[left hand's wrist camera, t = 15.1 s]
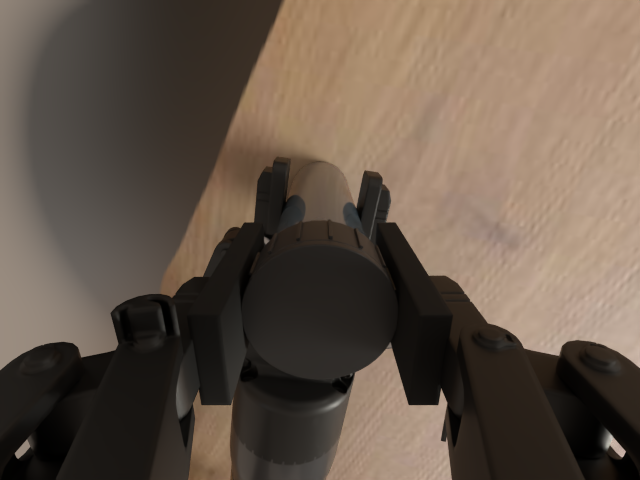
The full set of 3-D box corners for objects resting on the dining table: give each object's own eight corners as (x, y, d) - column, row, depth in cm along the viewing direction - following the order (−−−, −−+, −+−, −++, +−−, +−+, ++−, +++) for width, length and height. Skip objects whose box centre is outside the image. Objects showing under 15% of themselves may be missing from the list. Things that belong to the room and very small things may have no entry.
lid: (325, 359, 13) (326, 403, 11) (225, 288, 12) (206, 324, 10) (415, 277, 12) (434, 311, 10) (312, 189, 11) (311, 208, 9)
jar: (284, 169, 24) (236, 263, 10) (340, 155, 24) (371, 231, 10) (300, 222, 26) (276, 368, 12) (353, 209, 25) (395, 344, 11)
